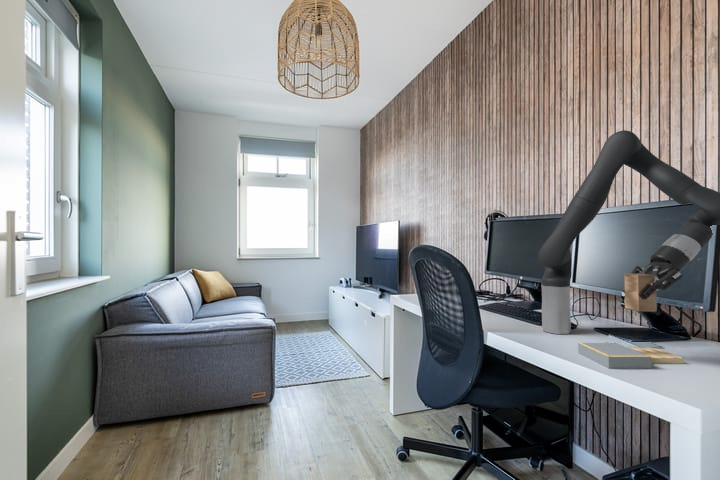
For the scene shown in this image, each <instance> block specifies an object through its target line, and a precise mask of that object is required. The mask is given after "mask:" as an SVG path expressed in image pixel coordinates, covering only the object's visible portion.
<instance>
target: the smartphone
mask: <svg viewBox="0 0 720 480" xmlns="http://www.w3.org/2000/svg"><path fill="white" fill-rule="evenodd" d="M611 334H612V333H609V334H608V337H609V338H611V339H614V340H617V341H619V342H622V343H625V344H628V345H631V346H632V347H654V348H657V349H659V350H662V349H664V346H662V345H659V344H657V343H654V342H651V341H649V342H631V341H627V340H623V339H620V338H618V337H615V336H613V335H611Z"/></svg>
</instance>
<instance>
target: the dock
mask: <svg viewBox="0 0 720 480" xmlns="http://www.w3.org/2000/svg"><path fill="white" fill-rule="evenodd" d="M627 347H628V346H625V345H622V344H619V343H617V342H577V352H578V354H580V355H582V356H583V357H586V358H588V359H589V360H591V361H594V362H595V363H597V364H600V365H601V366H603V367H605V368H607V369H652V364H651V356H648V355H645V354H643V353H640V352H637V351H635V350H632V349H630V348H627Z"/></svg>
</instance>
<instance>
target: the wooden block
mask: <svg viewBox="0 0 720 480" xmlns="http://www.w3.org/2000/svg"><path fill="white" fill-rule="evenodd" d="M623 276H624V289H625V293H624V308H625V309H628V310H631V311H634V312H635V311H636V312H657V310H658V308H657V307H658V305H657V303H658V302H657V300H658V299H657V291H654V292H653V293H652V294H651V295H650V296H649V297H648V298H647V299H642V298H641V297H640V296H639V295H638V294H639V292H640V291H641V290H642V289H643V288H644V287H645V286H646V285H649V282H650V281H651V280H652V277H653V276H654V275H649V274H631V273H623ZM655 283H656V282H655Z"/></svg>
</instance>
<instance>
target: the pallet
mask: <svg viewBox="0 0 720 480" xmlns="http://www.w3.org/2000/svg"><path fill="white" fill-rule="evenodd" d="M626 347H627V348H630V349H632V350H635V351H637V352H640V353H643V354H645V355H648V356H651V365H652V364H653V365H654V364H657V365H663V364H664V365H665V364H669V365H672V364H673V365H677V364H680V365H681V364H683V365H684V363H685V360H684V359H685V358H684V357H681V356H679V355H676V354H673V353H671V352H669V351H665V350H662V349H657V348H654V347H636V346H629V347H628V346H626Z"/></svg>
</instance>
